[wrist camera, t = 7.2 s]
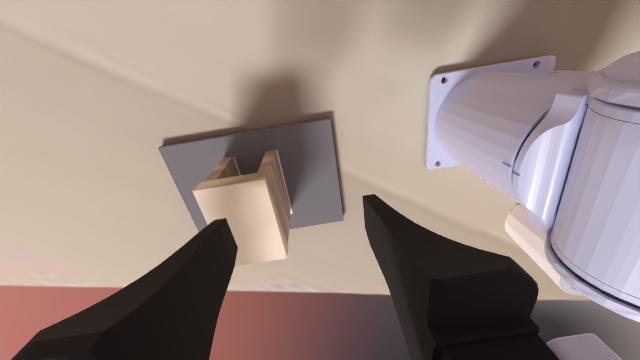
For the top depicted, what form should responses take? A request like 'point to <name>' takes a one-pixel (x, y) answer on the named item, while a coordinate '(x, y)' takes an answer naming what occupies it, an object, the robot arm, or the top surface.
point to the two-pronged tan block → (249, 208)
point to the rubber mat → (248, 152)
